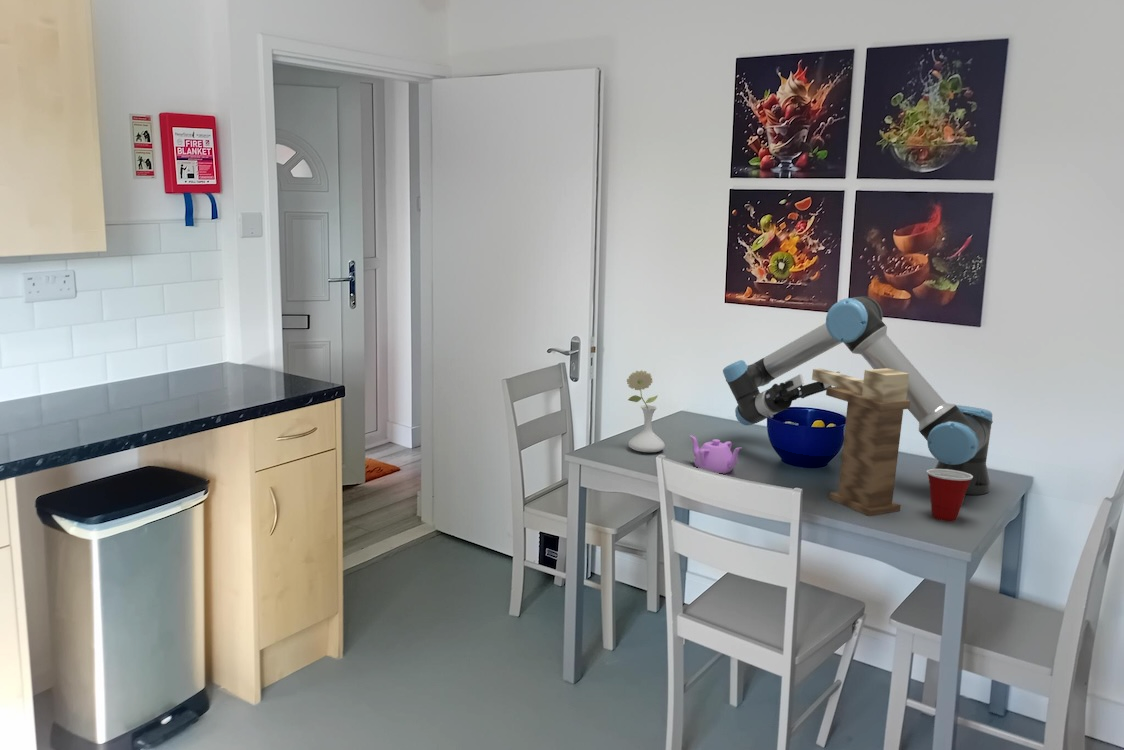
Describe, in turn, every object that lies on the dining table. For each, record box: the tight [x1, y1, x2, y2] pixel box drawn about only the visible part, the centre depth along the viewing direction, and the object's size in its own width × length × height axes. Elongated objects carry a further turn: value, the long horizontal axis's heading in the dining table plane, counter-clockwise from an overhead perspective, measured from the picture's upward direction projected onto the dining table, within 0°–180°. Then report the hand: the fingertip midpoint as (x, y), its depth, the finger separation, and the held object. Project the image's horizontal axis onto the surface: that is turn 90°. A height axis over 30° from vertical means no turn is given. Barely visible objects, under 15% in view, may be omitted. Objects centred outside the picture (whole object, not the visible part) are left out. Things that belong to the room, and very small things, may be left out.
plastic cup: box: [926, 468, 973, 522], centre depth 222 cm, size 11×11×12 cm
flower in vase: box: [626, 370, 666, 453], centre depth 270 cm, size 13×11×25 cm
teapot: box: [688, 434, 742, 475], centre depth 255 cm, size 12×14×9 cm
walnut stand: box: [825, 386, 910, 517], centre depth 230 cm, size 20×11×29 cm, turn 27°
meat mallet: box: [811, 368, 909, 403], centre depth 231 cm, size 28×8×7 cm, turn 27°
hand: (821, 377), depth 241 cm, fingers open, 13 cm apart
